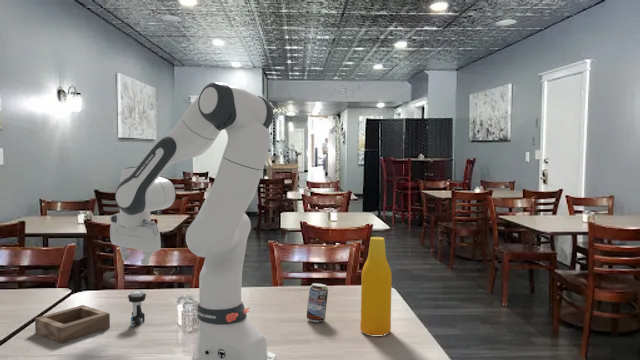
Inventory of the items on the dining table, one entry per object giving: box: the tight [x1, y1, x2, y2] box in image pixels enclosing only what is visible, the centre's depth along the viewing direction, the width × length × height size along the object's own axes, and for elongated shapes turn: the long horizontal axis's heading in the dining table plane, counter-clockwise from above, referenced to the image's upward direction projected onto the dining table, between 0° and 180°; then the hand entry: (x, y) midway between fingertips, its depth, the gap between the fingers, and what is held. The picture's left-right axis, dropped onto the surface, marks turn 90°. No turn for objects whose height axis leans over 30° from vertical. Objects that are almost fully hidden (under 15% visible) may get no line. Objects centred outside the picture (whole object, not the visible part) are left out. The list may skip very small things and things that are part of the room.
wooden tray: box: [34, 304, 111, 344], centre depth 148 cm, size 14×15×4 cm
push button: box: [127, 290, 147, 327], centre depth 153 cm, size 7×5×10 cm
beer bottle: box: [359, 236, 393, 335], centre depth 149 cm, size 9×9×29 cm
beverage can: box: [306, 283, 329, 323], centre depth 159 cm, size 6×7×12 cm
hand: (135, 262), depth 152 cm, fingers open, 8 cm apart
